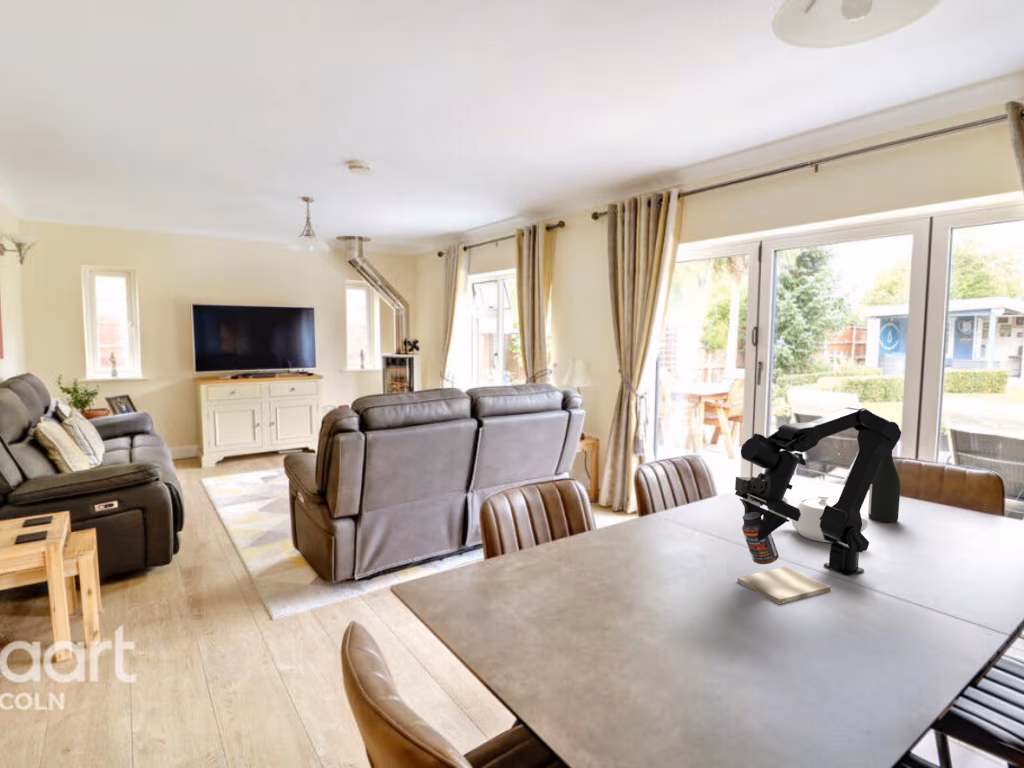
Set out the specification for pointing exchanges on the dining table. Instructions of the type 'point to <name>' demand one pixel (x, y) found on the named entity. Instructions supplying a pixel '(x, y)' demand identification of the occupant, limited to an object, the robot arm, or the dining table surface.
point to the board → (783, 584)
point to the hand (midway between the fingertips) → (752, 535)
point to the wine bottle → (885, 492)
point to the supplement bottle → (758, 549)
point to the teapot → (814, 517)
